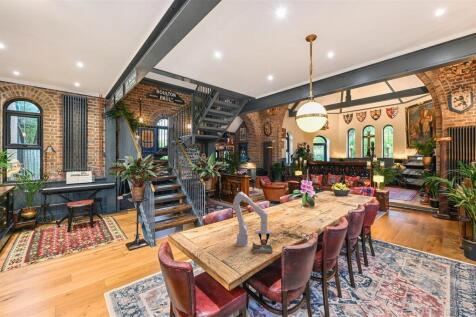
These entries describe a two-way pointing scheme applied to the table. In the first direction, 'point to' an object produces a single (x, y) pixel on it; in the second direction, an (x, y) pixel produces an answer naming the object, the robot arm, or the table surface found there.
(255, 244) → the walnut step ramp
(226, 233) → the table surface
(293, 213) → the table surface
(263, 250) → the slate lane
